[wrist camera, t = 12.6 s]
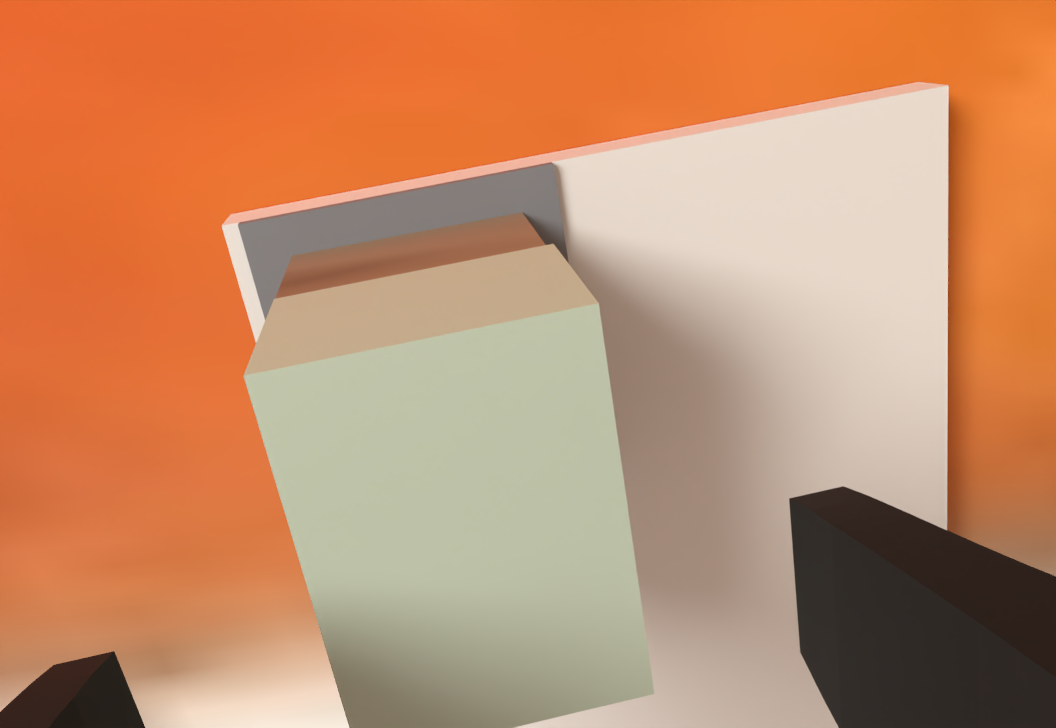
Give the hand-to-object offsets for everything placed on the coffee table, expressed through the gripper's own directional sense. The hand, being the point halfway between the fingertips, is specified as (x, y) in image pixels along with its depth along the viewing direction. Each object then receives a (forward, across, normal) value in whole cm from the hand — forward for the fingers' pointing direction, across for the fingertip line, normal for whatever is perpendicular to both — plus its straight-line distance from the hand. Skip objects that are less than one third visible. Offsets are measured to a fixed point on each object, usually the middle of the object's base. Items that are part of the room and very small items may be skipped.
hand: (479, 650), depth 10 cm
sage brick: (+5, 0, 0) cm, 5 cm away
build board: (+9, -4, +5) cm, 11 cm away
